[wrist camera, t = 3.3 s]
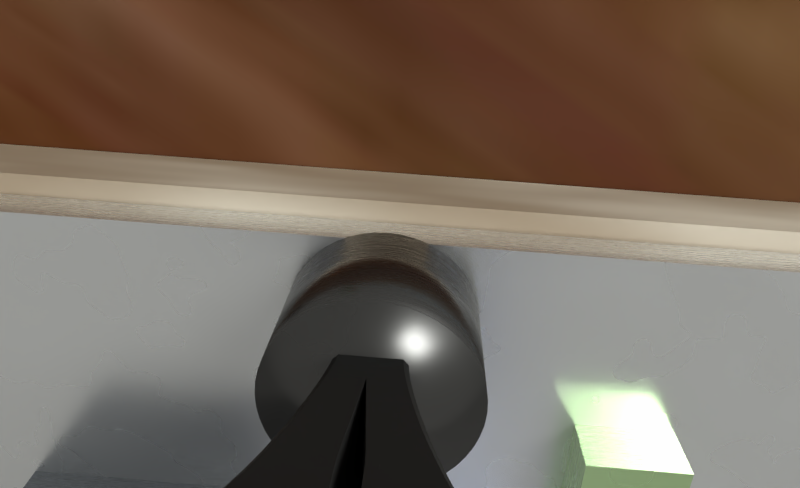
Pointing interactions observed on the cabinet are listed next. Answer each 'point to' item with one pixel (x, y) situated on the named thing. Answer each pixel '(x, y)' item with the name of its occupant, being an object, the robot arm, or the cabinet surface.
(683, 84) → the cabinet surface
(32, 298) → the leveling plate
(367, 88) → the cabinet surface
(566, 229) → the leveling base
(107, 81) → the cabinet surface
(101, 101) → the cabinet surface
